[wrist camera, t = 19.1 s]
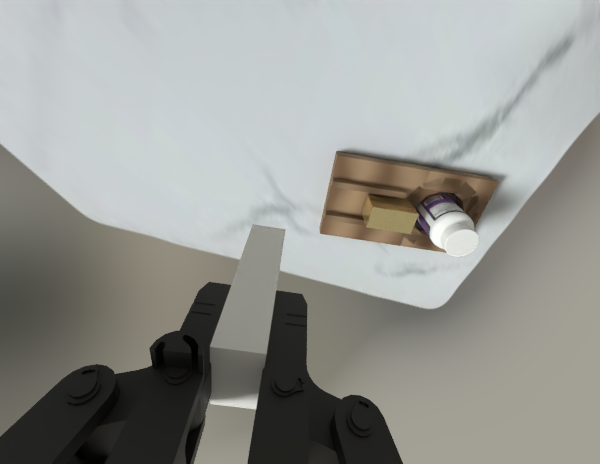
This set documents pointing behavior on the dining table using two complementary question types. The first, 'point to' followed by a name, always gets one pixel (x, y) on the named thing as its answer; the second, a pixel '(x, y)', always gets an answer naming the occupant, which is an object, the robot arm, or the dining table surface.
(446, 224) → the pill bottle
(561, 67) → the dining table surface
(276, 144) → the dining table surface
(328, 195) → the dock plate
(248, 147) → the dining table surface
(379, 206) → the bar
